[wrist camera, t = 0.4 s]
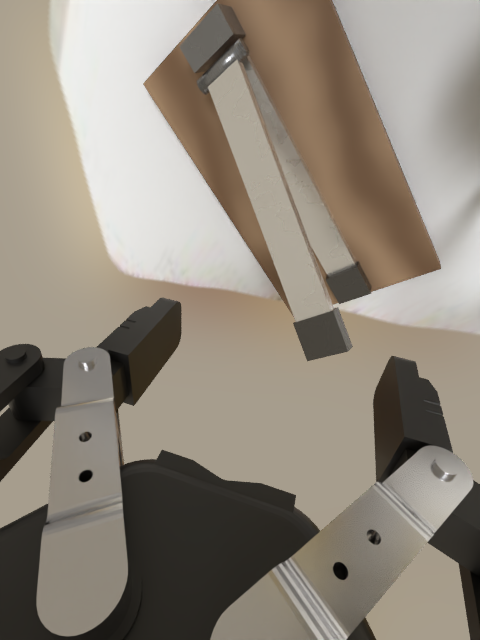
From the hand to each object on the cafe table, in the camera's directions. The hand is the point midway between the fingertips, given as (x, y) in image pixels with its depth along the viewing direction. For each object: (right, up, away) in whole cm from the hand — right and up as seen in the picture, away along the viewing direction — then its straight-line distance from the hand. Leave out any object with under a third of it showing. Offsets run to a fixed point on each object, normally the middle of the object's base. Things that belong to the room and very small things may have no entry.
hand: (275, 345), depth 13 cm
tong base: (+4, +14, +19) cm, 23 cm away
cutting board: (+4, +15, +20) cm, 25 cm away
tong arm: (+2, +10, +14) cm, 17 cm away
